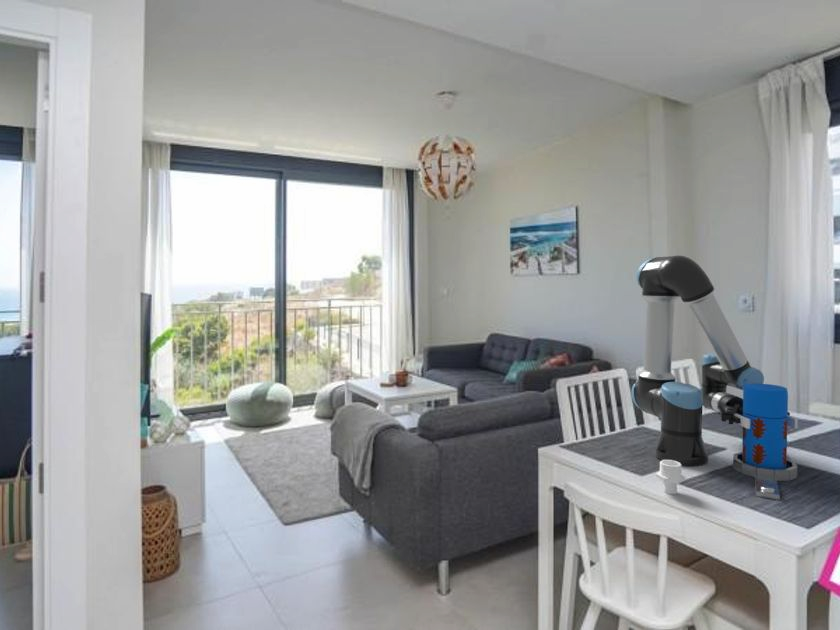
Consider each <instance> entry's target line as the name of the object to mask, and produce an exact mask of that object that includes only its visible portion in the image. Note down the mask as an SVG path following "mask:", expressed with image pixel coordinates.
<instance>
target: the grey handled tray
mask: <svg viewBox="0 0 840 630" xmlns="http://www.w3.org/2000/svg"><path fill="white" fill-rule="evenodd" d="M732 459H733V460H732V462H733V463H732V468H733V469H734V470H736V471H737V472H738V473H740V474H742V475H745V476H748V477H752V478H754V486H755V496H756V497H758V498H759V497H761V498H765V499H771V500H777V501H780V500H781V499H780V498H781V497H780V490H779V485H778V482H781V481H783V482H784V481H785V482H786V481H787V482H788V481H792V480H795V479H797V478H798V465H797V462H795V461H793V460H791V459H789V458H788V456H787V462H786V469H770V468H763V467H757V466H753V465H750V464H747V463H744V462H743V458H742V451H739V452H736V453H733V457H732Z"/></svg>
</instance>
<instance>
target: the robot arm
mask: <svg viewBox="0 0 840 630" xmlns="http://www.w3.org/2000/svg"><path fill="white" fill-rule="evenodd" d="M636 282H637V285H638V286H640V289H642V290H641V291H642V293H641V294H642V295H641V296H642V298H643V299H644V300H645V301H646V308H645V309H646V310H645V311H646V312H645V332H644V351H643V352H644V353H643V369H642V371H641V372H640V373H639V372H638V377H637V380H636V381H635V383H633V385H632V387H631V390H630V394H631V399H632V402H633V403H634V405H635V406H636V407H637V408H638V409H640V410H641V412H644V413H646V414H649V415H652V416H655V417H656V418H659V419H660V433H659V437H658V439H657V441H656V444H655V447H654V456H655V458H656V459H657V460H660V461H662V460H674V461H677V462H679V463H681V466H685V467H698V466H705V465H706V464H708V462H709V454H708V450H707V447H706V445H705V442H704V440H703V407H704V408H706V409H708V410H710V411H712V412H713V411H714V412H716V413H717V415H719V417H720V421H721V422H723V423H724V422H727V421H728V425H734V424H737V425H740V426H741V427H742V428H743V427H745V428H747V429H750V419H748V418H746V417H743V397H739V396H738V395H734V394H732V393H729V392H727V386H728V387H732V388H735V389H738V390H741V391H743V390H744V385H746V384H765V383H764V382H765V377H764V374H763V372H762V371H761V370H760V369H758V368H756V367H753V366H751V363H750V362H749V360H748V358H747V357H746V354H745V353H744V351H743V349H742V347H741V345H740V343H739V341H738V339H737V337H736V335H735V333H734V331H733V329H732V327H731V326H730V324H729V322H728V320H727V318H726V316H725V313H724V312H723V310H722V309H721V306H720V304H719V302H718V299H716V297H715V294H714V292H715V287H714V285H713V283H712V281H711V280H710V277H709V276H708V275H707V273H706V272H705V271H704V270H703V268H702V267H701V266H700V265H699V264H698V263H697V262H696V261H695V260H693V259H692V258H690V257H687V256H684V255H672V256H656V257H652V258H649V259H647V260H645V261H644V262H643V263H642V264H640V266H639V268H638V270H637V272H636ZM678 299H681V301H682V302H683V303H685V304H687V305H688V306H689V308H690V310H691V312H692V314H693V316H694V317H695V320H696V322H697V323H698V325H699V327H700V328H701V331H702V332H703V335H704V336H705V337H706V340H707V342H708V343H709V345H710V347H711V350H712V351H713V353H707V354H704V355H703V356H702V361H701V362H702V363H701V386H700V387H698V386H695V385H694V384H689V383H684V382H681V381H680V382H679V381H676V379H677V378H676V377H677V376H675V375H674V374H673V373H672V358H673V354H672V353H673V341H674V340H673V339H674V338H673V335H674V334H673V333H674V319H675V317H674V316H675V315H674V314H675V303H676V301H677V300H678ZM790 415H791V412H789V411H788V416H787V427H788V426H789V427H791V428H793V429H798V427H799V425H798V422H799V419H798V418H796V417H794V416H790Z"/></svg>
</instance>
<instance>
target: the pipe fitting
mask: <svg viewBox="0 0 840 630" xmlns="http://www.w3.org/2000/svg"><path fill="white" fill-rule="evenodd" d="M655 477H656V478H657V479H658V480H660V481H663V487H662V488H663V492H664V493H665V494H668V495H676V494H678V493H677V492H678V484H681V483H682V482H684V481H685V480H686V475H684V474H683V473H682V465H681V463H679V462H677V461H674V460H660V461H659V470H658V471H657V472H656V473H655Z"/></svg>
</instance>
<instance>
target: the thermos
mask: <svg viewBox="0 0 840 630" xmlns="http://www.w3.org/2000/svg"><path fill="white" fill-rule="evenodd" d="M742 391H743V392H742V393H743V394H742V396H743V397H742V399H743V417H746V418H748V419H750V429H747V428H745V427H743V426H742V444H741V445H742V450H741V452H742V458H743V462H744V463H747V464H750V465H753V466H757V467H763V468H770V469H786V462H787V457H788V453H787V452H788V451H787V450H788V449H787V448H788V447H787V446H788V425H787V416H788V412H789V411H788V410H789V409H788V407H789V406H788V405H789V404H788V403H789V393H788V388H787V387H784V386H782V385H777V384H769V383H763V384H746V385H744V390H742Z"/></svg>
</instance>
